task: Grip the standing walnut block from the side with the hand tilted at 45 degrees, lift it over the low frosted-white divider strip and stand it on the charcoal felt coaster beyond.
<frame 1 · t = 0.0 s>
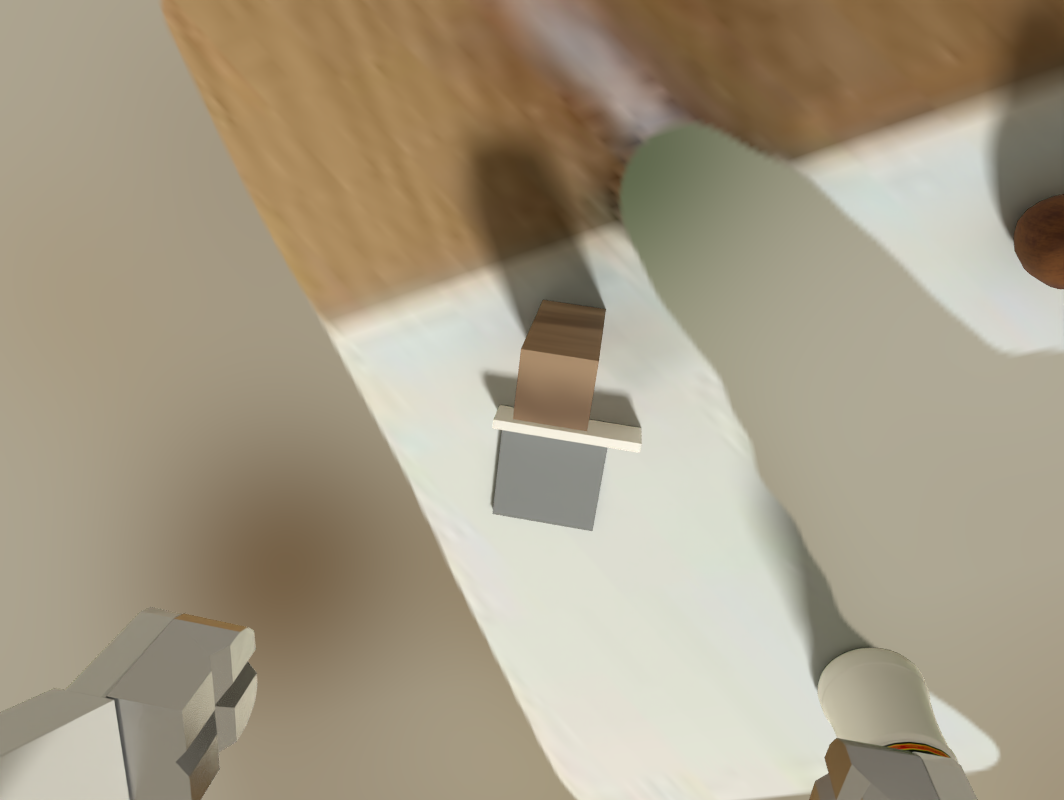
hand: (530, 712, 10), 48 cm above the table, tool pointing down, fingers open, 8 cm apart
vodka: (866, 680, 68), on the table
walnut block: (569, 334, 58), on the table
divider: (569, 420, 61), on the table
wooden figurine: (1048, 228, 51), on the table
coaster: (549, 475, 64), on the table
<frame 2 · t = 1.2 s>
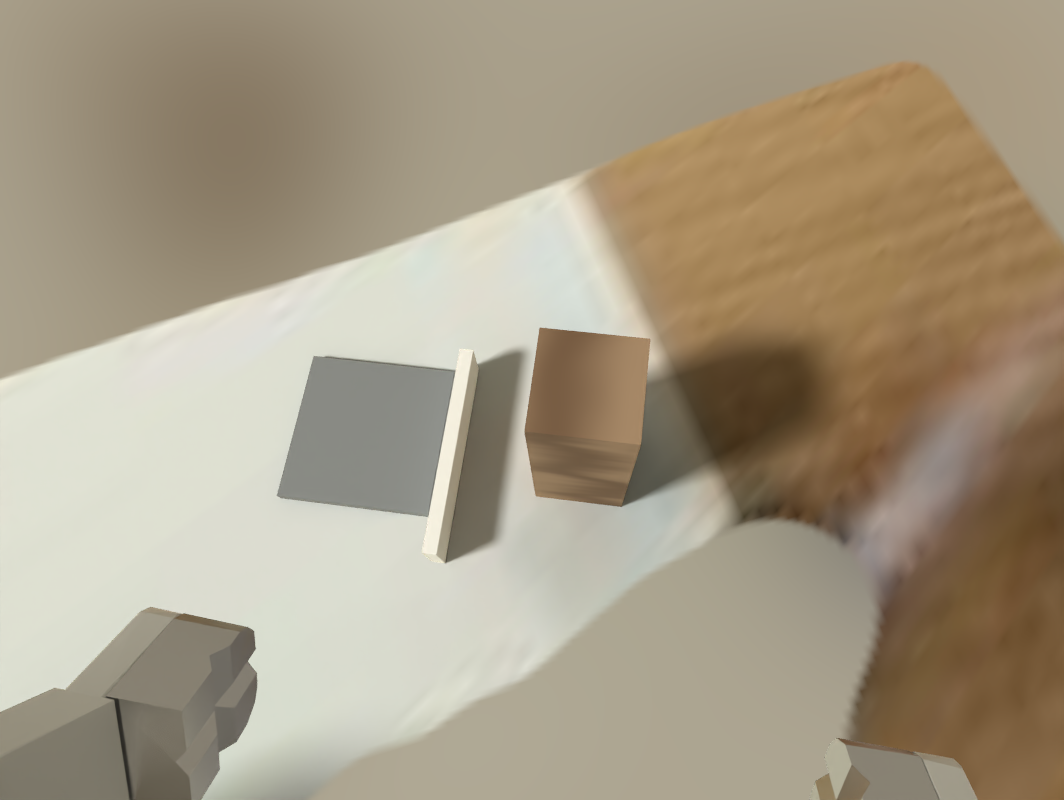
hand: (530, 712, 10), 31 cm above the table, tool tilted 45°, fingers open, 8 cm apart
walnut block: (583, 460, 43), on the table
divider: (456, 461, 44), on the table
coaster: (370, 434, 44), on the table
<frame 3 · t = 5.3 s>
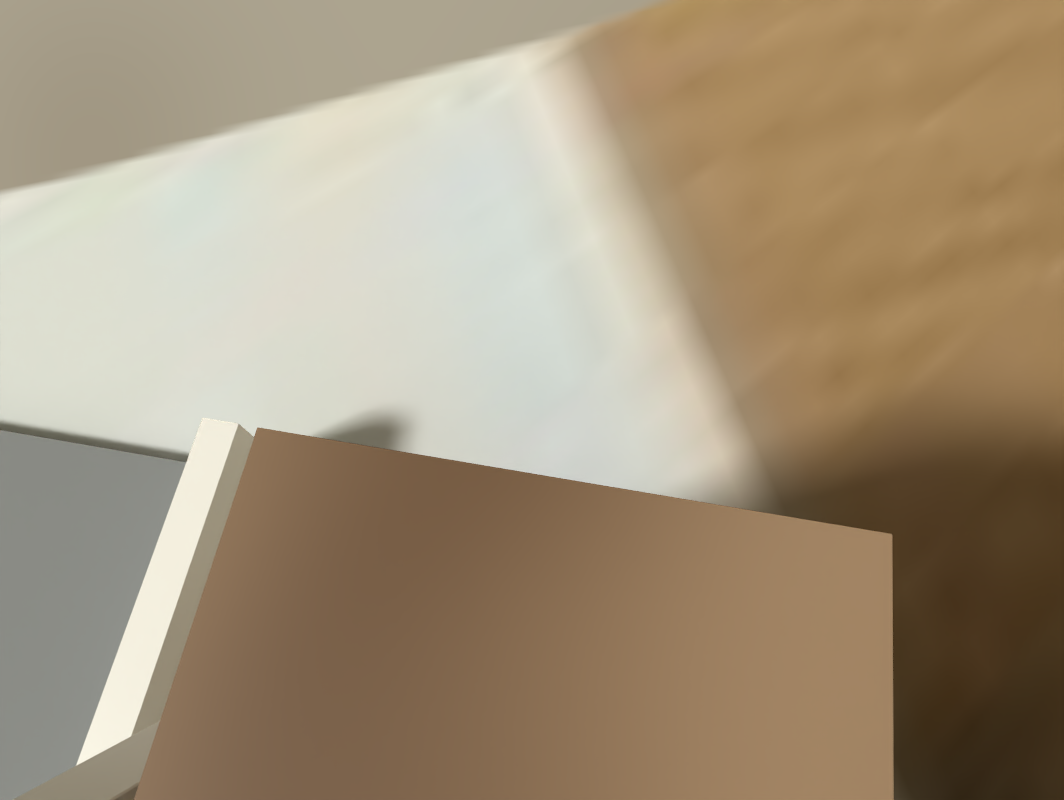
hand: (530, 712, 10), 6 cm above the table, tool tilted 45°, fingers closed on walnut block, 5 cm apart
walnut block: (528, 734, 16), on the table, touching gripper
divider: (186, 718, 16), on the table
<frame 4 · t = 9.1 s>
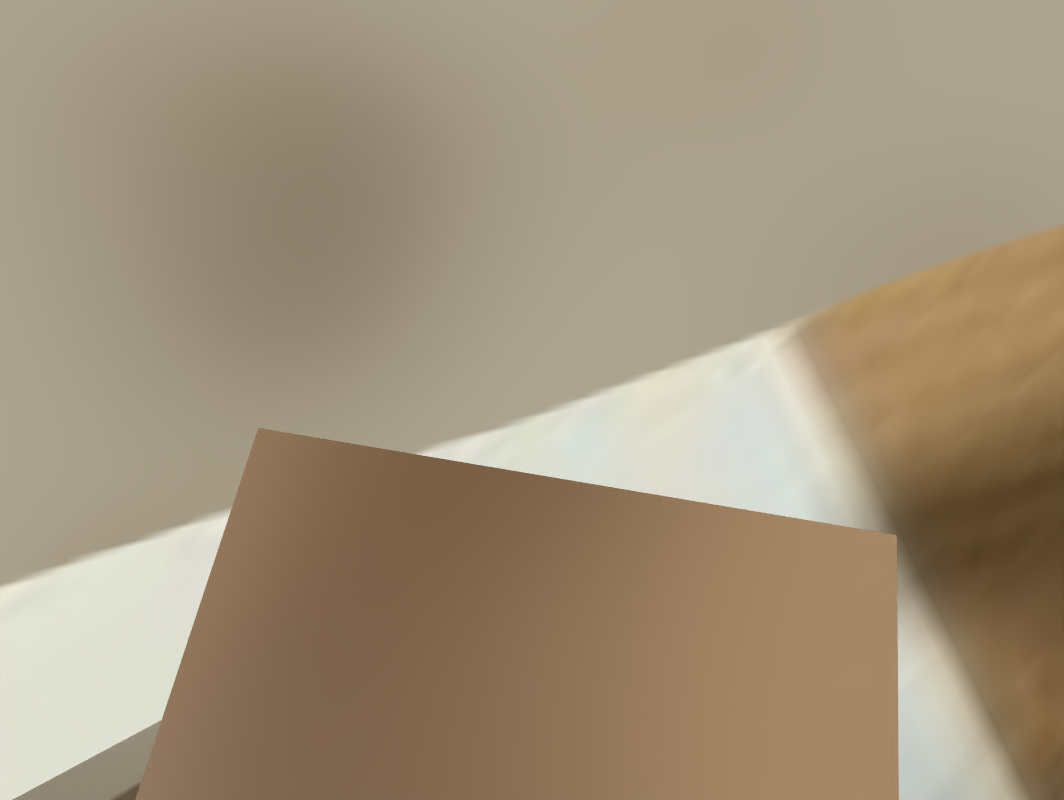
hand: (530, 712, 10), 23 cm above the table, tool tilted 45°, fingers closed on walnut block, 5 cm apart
walnut block: (529, 734, 16), point 17 cm above the table, touching gripper
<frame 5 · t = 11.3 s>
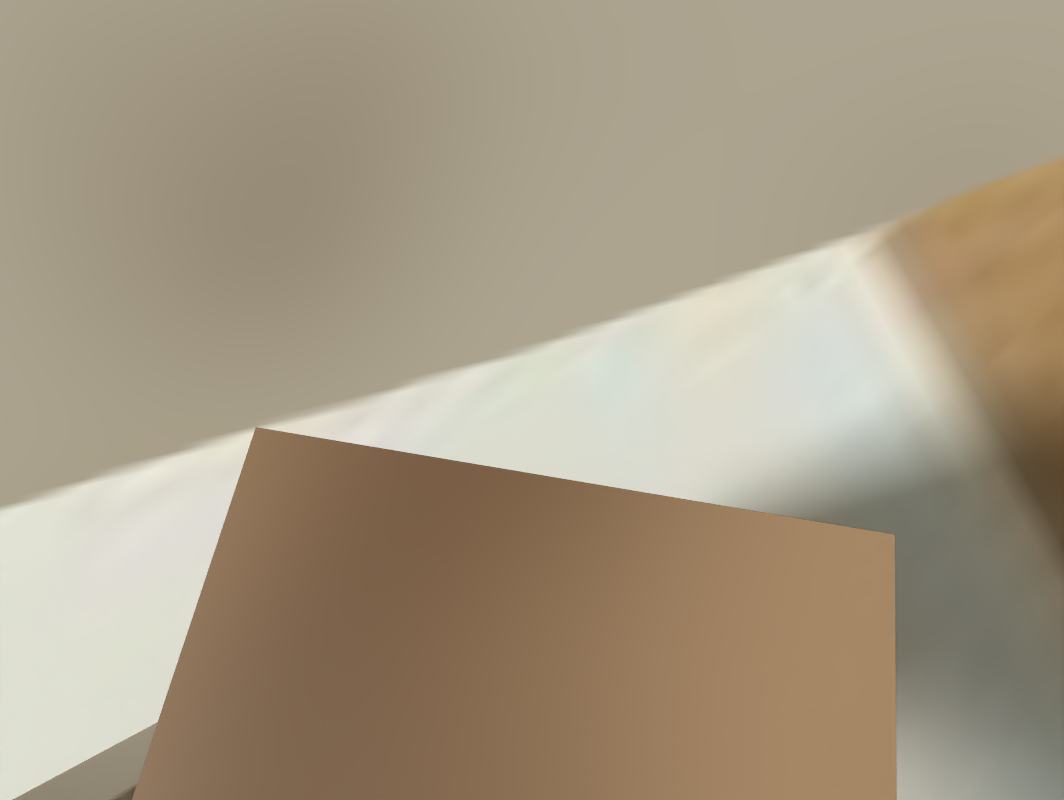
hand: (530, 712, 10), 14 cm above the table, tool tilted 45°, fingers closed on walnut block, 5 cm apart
walnut block: (528, 734, 16), point 8 cm above the table, touching gripper
when the fingers open (8 cm above the table, at t = 13.2 s): walnut block stays where it is, resting on coaster.
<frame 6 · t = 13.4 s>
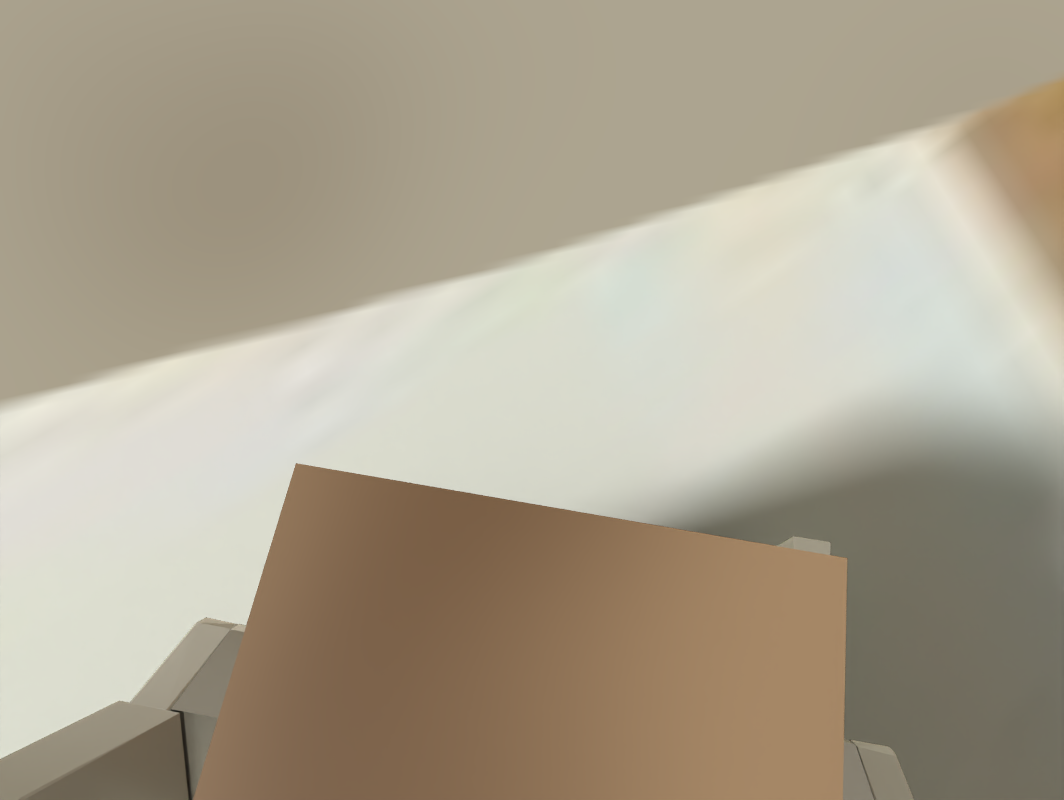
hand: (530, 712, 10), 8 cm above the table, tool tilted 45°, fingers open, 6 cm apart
walnut block: (529, 732, 17), point 1 cm above the table, touching coaster
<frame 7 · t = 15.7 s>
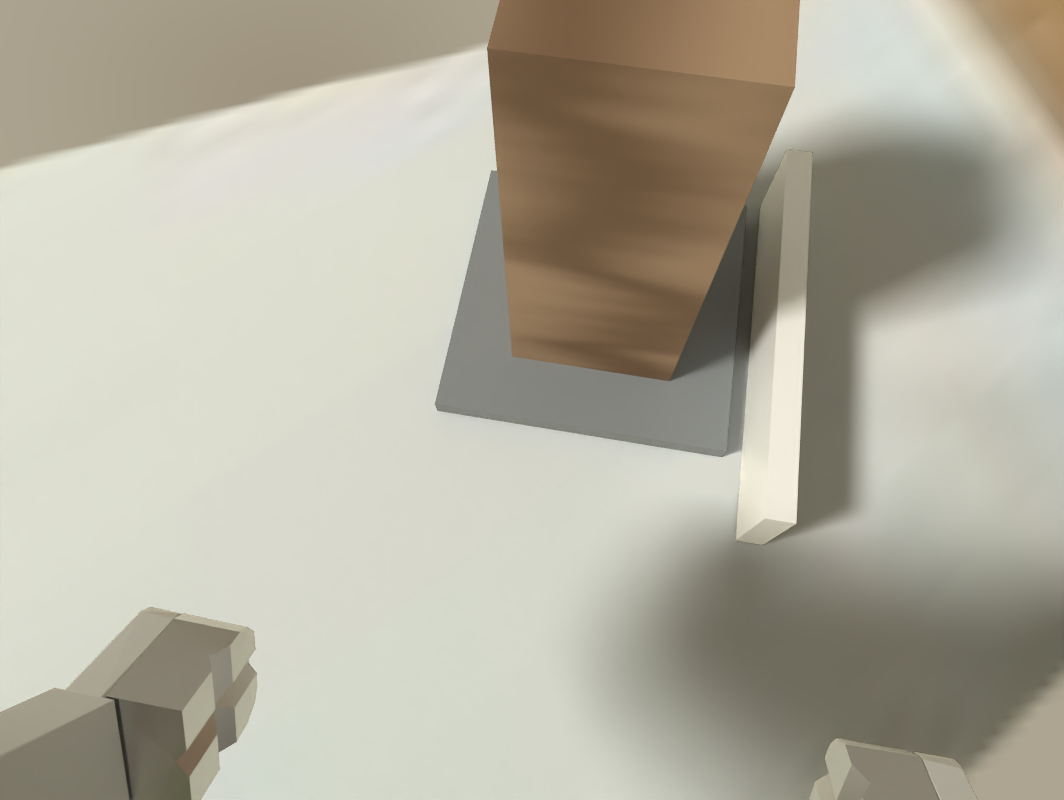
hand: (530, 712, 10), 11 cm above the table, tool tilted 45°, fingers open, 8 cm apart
walnut block: (601, 300, 24), point 1 cm above the table, touching coaster
divider: (761, 360, 24), on the table
coaster: (598, 308, 24), on the table
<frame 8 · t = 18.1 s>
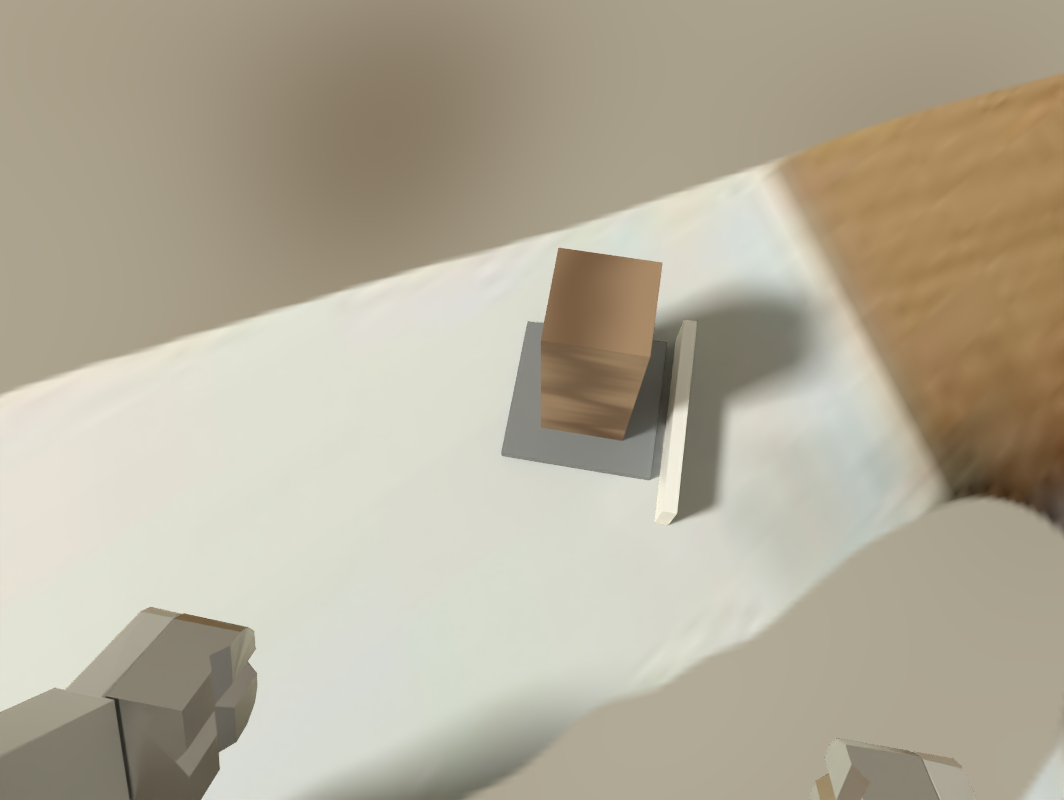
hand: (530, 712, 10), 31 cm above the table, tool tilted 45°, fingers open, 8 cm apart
walnut block: (587, 396, 45), point 1 cm above the table, touching coaster
divider: (672, 428, 45), on the table
coaster: (585, 399, 46), on the table
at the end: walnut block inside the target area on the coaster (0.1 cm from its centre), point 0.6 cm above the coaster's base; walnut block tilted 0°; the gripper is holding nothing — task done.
